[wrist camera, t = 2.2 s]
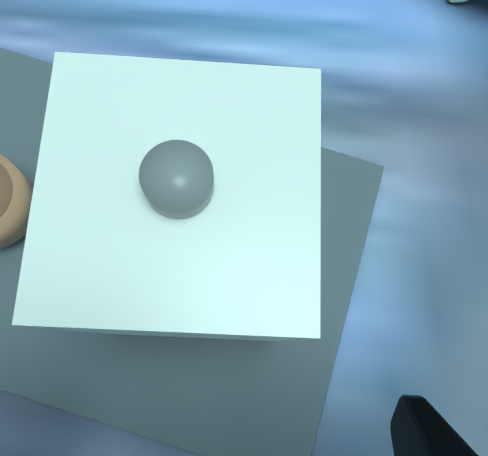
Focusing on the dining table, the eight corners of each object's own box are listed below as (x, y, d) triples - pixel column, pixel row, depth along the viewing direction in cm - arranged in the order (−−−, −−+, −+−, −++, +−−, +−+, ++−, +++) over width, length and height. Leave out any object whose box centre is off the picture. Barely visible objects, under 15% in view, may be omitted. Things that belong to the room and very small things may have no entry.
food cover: (273, 341, 19) (328, 338, 9) (112, 334, 19) (-7, 323, 9) (277, 189, 21) (327, 49, 11) (128, 181, 21) (43, 30, 11)
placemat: (-218, 315, 19) (-225, 314, 19) (-61, 32, 22) (-64, 27, 22) (301, 487, 18) (302, 489, 18) (381, 169, 22) (384, 166, 22)
